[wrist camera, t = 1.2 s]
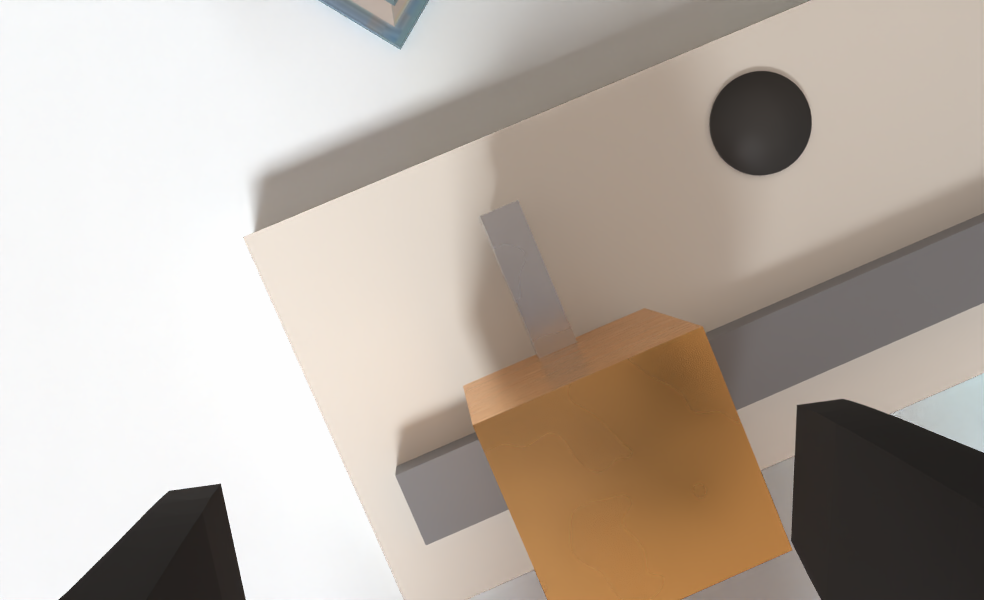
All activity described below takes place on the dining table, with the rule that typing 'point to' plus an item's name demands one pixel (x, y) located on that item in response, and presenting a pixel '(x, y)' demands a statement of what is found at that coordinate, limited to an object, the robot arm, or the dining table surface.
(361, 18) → the book
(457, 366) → the pitch plate
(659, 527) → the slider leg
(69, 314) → the dining table surface
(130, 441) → the dining table surface
